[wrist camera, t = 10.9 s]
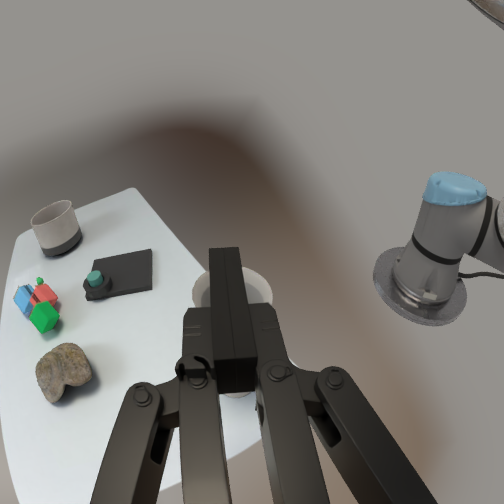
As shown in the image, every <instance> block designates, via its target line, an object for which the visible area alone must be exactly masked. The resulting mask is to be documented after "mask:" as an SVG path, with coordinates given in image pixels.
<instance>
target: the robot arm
mask: <svg viewBox="0 0 504 504" xmlns="http://www.w3.org/2000/svg"><path fill="white" fill-rule="evenodd" d="M468 1H469V2H470V3H471V4H472V5H473V6H474V7H475V8H476V9H478V10H479V11H480V12H481V13H482V14H484V15H485V16H486V17H487V18H489V19H490V20H491V21H492V22H494V23H495V24H496V25H498V26H499V27H500V28H502V29H503V30H504V0H468ZM486 191H487V190H486V187H485V186H484V185H483V184H482V183H481V182H479V181H477V180H475V179H473V178H471V177H469V176H466V175H462V174H459V173H454V172H437V173H434V174H433V175H431V177H430V178H429V180H428V183H427V186H426V190H425V192H424V193H423V202H422V205H421V208H420V212H419V216H418V219H417V222H416V225H415V228H414V231H413V235H412V238H411V239H410V241H409V242H408V243H407V245H406V246H405V247H404V248H403V250H402V251H401V252H400V253H399V255H398V256H397V258H396V259H395V261H394V264H393V267H392V275H393V278H394V281H395V283H396V284H397V286H398V287H399V288H400V289H401V290H402V291H403V292H404V293H405V294H406V295H408V296H409V297H411V298H412V299H414V300H416V301H418V302H421V303H424V304H428V305H440V304H444V303H446V302H447V301H449V299H450V298H451V297H452V295H453V293H454V291H455V288H456V284H457V278H458V277H461V278H473V277H477V276H490V277H496V278H501V279H504V275H500V274H496V273H490V272H477V273H473V274H463V273H460V272H458V271H459V263H460V261H461V258H462V256H463V254H464V253H466V254H468V255H470V256H472V257H474V258H476V259H478V260H480V261H482V262H484V263H486V264H488V265H490V266H492V267H493V268H495V269H497V270H499V271H501V272H503V273H504V197H503V198H502V200H501V201H498V200H496V199H494V198H491V197H489V196H487V192H486ZM209 277H210V307H197V308H188V310H187V312H186V313H185V315H184V318H183V342H182V357H181V358H180V359H179V360H178V362H177V363H176V366H175V371H176V374H177V376H176V377H175V378H174V379H172V380H171V381H168V382H166V383H162V384H159V385H156V386H154V385H152V384H150V383H148V382H140V383H136V384H134V385H133V386H131V387H130V388H129V389H128V391H127V393H126V395H125V397H124V400H123V403H122V405H121V408H120V411H119V414H118V416H117V419H116V422H115V425H114V428H113V430H112V433H111V436H110V439H109V442H108V445H107V448H106V451H105V454H104V457H103V460H102V464H101V467H100V470H99V473H98V477H97V480H96V483H95V487H94V490H93V494H92V498H91V501H90V504H156V501H157V497H158V493H159V489H160V484H161V480H162V476H163V472H164V468H165V464H166V460H167V456H168V452H169V448H170V444H171V440H172V436H173V432H174V428H176V427H179V434H180V459H181V476H182V489H183V501H184V504H232V499H231V492H230V485H229V477H228V470H227V462H226V454H225V445H224V437H223V427H222V418H221V408H220V401H219V394H230V393H242V392H253V391H255V392H256V407H255V411H257V412H258V418H259V424H260V430H261V436H262V441H263V447H264V453H265V458H266V464H267V470H268V475H269V480H270V486H271V491H272V496H273V502H274V504H330V501H329V497H328V493H327V489H326V485H325V481H324V477H323V473H322V469H321V466H320V462H319V458H318V454H317V450H316V447H315V442H314V438H313V435H312V431H311V427H310V424H311V425H312V427H313V429H314V430H315V432H316V434H317V436H318V437H319V439H320V441H321V443H322V444H323V446H324V448H325V449H326V451H327V453H328V454H329V456H330V458H331V459H332V461H333V463H334V464H335V466H336V468H337V469H338V471H339V473H340V474H341V476H342V478H343V479H344V481H345V483H346V484H347V486H348V487H349V489H350V490H351V492H352V494H353V495H354V497H355V499H356V500H357V502H358V503H359V504H438V503H437V502H436V500H435V499H434V497H433V496H432V494H431V493H430V491H429V490H428V488H427V487H426V485H425V484H424V482H423V481H422V479H421V478H420V476H419V475H418V473H417V472H416V470H415V469H414V468H413V466H412V465H411V463H410V462H409V460H408V459H407V457H406V456H405V454H404V453H403V451H402V450H401V448H400V447H399V446H398V444H397V443H396V441H395V440H394V438H393V437H392V435H391V434H390V433H389V431H388V430H387V428H386V427H385V425H384V424H383V423H382V421H381V420H380V418H379V417H378V415H377V414H376V412H375V411H374V409H373V408H372V406H371V405H370V404H369V402H368V401H367V399H366V398H365V397H364V395H363V394H362V392H361V391H360V390H359V388H358V386H357V385H356V383H355V382H354V381H353V379H352V378H351V376H350V375H349V374H348V373H347V372H346V371H345V370H344V369H342V368H339V367H334V366H331V367H327V368H325V369H323V370H322V371H321V372H314V371H306V370H302V369H300V368H298V367H296V366H294V365H293V364H292V363H291V362H290V360H289V358H288V356H287V352H286V349H285V345H284V341H283V338H282V334H281V330H280V326H279V322H278V319H277V315H276V311H275V309H274V308H273V307H272V306H271V305H270V304H269V302H266V303H253V304H248V299H247V294H246V288H245V282H244V276H243V271H242V265H241V260H240V253H239V248H238V247H229V248H211V249H210V248H209ZM309 422H310V423H309Z"/></svg>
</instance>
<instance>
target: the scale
mask: <svg viewBox="0 0 504 504" xmlns="http://www.w3.org/2000/svg"><path fill="white" fill-rule="evenodd" d="M96 270H97V271H100V273H101V275H102V277H103V283H102V284H101V285H99V286H97V287H91V286H90V284H89V281H88V279H87V278H86V279H85V280H84V284H83V287H84V289H85V291H86V295H85V297H86V299H87V301H90V300H96V299H102V298H108V297H113V296H119V295H125V294H130V293H136V292H142V291H147V290H152V250H151V249H147V250H142V251H137V252H131V253H126V254H121V255H116V256H111V257H106V258H102V259H97V260H94V263H93V267H92V271H96ZM92 271H91V272H92Z"/></svg>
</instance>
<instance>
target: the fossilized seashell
mask: <svg viewBox="0 0 504 504" xmlns="http://www.w3.org/2000/svg"><path fill="white" fill-rule="evenodd" d="M35 372H36V377H37V382H38V385H39V386H40V388H41V390H42V392H43V394H44V396H45V398H46V399H47V400H48V401H49V402H51V403H55V402H57V401H58V400H59V399H60V398H61V396H62V394H63V392H64V389H65V385H66V384H69V385H71V386H81V385H83V384H85V383H87V382H88V381H89V380H90V379H91V377H92V370H91V367H90V364H89V362H88V360H87V358H86V356H85V354H84V352H83V350H82V349H81V348H80V347H79V346H77V345H76V344H73V343H63V344H60V345H59V346H57V347H55V348H54V349H52V350H51V351H50V352H48V353H46V354H45V355H44V356H43V358H41V359H40V361H39V362H38V363H37V366H36V371H35Z"/></svg>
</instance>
